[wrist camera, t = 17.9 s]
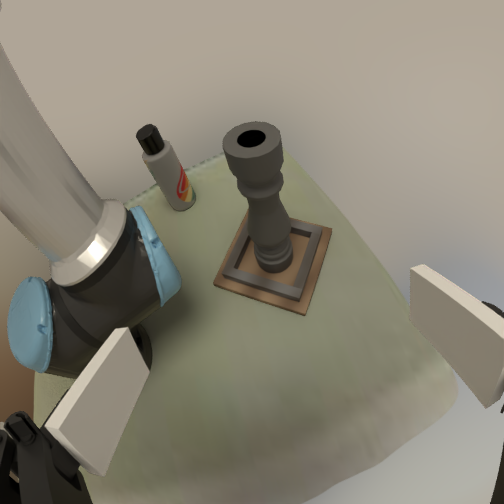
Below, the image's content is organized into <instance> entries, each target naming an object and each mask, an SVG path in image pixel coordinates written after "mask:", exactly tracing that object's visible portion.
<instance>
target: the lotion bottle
mask: <svg viewBox="0 0 504 504" xmlns="http://www.w3.org/2000/svg"><path fill="white" fill-rule="evenodd" d="M136 138H137V139H138V141H139V143H140V145H141V147H142V148H143V150H144V152H143V154H142V158H143V161H144V162H145V164H146V165H147V167H148V169H149V171H150V172H151V174H152V176H153V177H154V179H155V181H156V182H157V184H158V185H159V187H160V189H161V190H162V192H163V194H164V195H165V197H166V198H167V200H168V201H169V203H170V205H171V206H172V207H173V208H174V209H175V210H178V211H183V210H186V209H188V208H190V207H191V206H192V205H193V204H194V202H195V199H196V196H195V193H194V190H193V188H192V186H191V184H190V182H189V180H188V178H187V176H186V174H185V172H184V170H183V168H182V166H181V164H180V162H179V160H178V158H177V156H176V154H175V152H174V150H173V148H172V146H171V144H170V142H169V141H167V140H163V139H162V137H161V135H160V133H159V131H158V129H157V127H156V126H153V125H152V124H148V125H145V126H144V127H142V128H141V129H140V130H139V131H138V132H137V134H136Z"/></svg>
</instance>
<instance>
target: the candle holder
mask: <svg viewBox="0 0 504 504" xmlns="http://www.w3.org/2000/svg"><path fill="white" fill-rule="evenodd" d="M223 150H224V153H225V156H226V159H227V162H228V165H229V169H230V170H231V172H232V173H233V175H234V176H236V177H237V187H238V189H239V191H240V192H241V194H242V195H243V196H244V197H246V198H247V200H248V204H249V210H248V220H247V232H248V234H249V236H250V238H251V239H252V241H253V242H254V254H255V257H256V260H257V263H258V265H259V266H260V268H261V269H263V270H264V271H265V272H268V273H272V274H274V273H281V272H283V271H284V270H286V269H287V268H288V267H289V266H290V265H291V263H292V260H293V247H292V241H291V240H290V237H289V234H290V231H291V222H290V218H289V216H288V214H287V212H286V210H285V208H284V206H283V204H282V203H281V201H280V198H279V191H280V190H281V188H282V185H283V182H284V181H283V175H282V173H281V172H280V169H281V167H282V164H283V162H284V160H283V150H282V142H281V135H280V131H279V130H278V129H277V128H276V127H275V126H274V125H271V124H269V123H266V122H256V121H255V122H249V123H244V124H241V125H239V126H236V127H234V128H233V129H232V130H230V131H229V132H228V133H227V134H226V135H225V137H224V139H223Z"/></svg>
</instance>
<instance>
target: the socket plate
mask: <svg viewBox="0 0 504 504" xmlns="http://www.w3.org/2000/svg"><path fill="white" fill-rule="evenodd" d="M248 210H249V209H248ZM247 220H248V211H247V213H246V215H245V217H244V219H243V221H242V223H241V225H240V227H239V229H238V231H237V233H236V236H235V238H234V240H233V242H232V244H231V246H230V248H229V250H228V252H227V254H226V256H225V259H224V261H223V263H222V265H221V267H220V269H219V271H218V273H217V276H216V278H215V280H214V282H213V284H214V285H215V286H217V287H220V288H222V289H225V290H228V291H231V292H234V293H237V294H240V295H243V296H246V297H248V298H251V299H254V300H257V301H260V302H263V303H266V304H269V305H272V306H276V307H279V308H282V309H285V310H288V311H291V312H294V313H297V314H301V315H304V316H305V315H306V312H307V309H308V306H309V303H310V300H311V297H312V294H313V291H314V288H315V285H316V282H317V279H318V276H319V273H320V269H321V266H322V263H323V260H324V257H325V253H326V250H327V247H328V243H329V240H330V236H331V233H332V228H328V227H324V226H320V225H316V224H313V223H309V222H305V221H301V220H297V219H293V218H290V222H291V231H290V234H289V237H290V240H291V241H292V247H293V260H292V263H291V265H290V266H289V267H288V268H287V269H286V270H284V271H283V272H281V273H274V274H272V273H268V272H265V271H264V270H263V269H261V268H260V266H259V265H258V263H257V260H256V257H255V254H254V242H253V241H252V239H251V238H250V236H249V234H248V232H247Z"/></svg>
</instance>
